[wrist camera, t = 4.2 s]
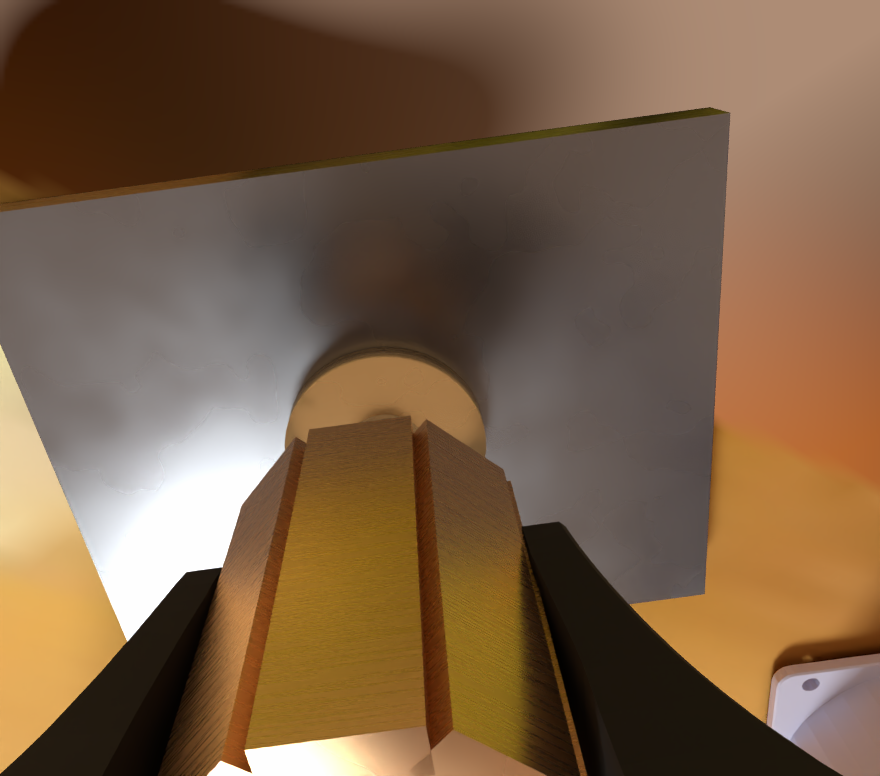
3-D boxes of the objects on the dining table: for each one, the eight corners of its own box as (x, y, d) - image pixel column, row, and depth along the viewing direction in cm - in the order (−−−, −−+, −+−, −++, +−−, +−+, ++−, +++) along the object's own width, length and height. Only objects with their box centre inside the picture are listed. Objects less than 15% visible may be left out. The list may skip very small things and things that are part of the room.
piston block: (709, 107, 15) (846, 144, 10) (690, 568, 20) (775, 723, 16) (-26, 207, 15) (-207, 286, 10) (150, 641, 20) (81, 816, 16)
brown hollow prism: (503, 403, 12) (592, 704, 7) (523, 618, 14) (602, 976, 9) (216, 441, 12) (78, 772, 7) (280, 651, 14) (213, 1027, 9)
